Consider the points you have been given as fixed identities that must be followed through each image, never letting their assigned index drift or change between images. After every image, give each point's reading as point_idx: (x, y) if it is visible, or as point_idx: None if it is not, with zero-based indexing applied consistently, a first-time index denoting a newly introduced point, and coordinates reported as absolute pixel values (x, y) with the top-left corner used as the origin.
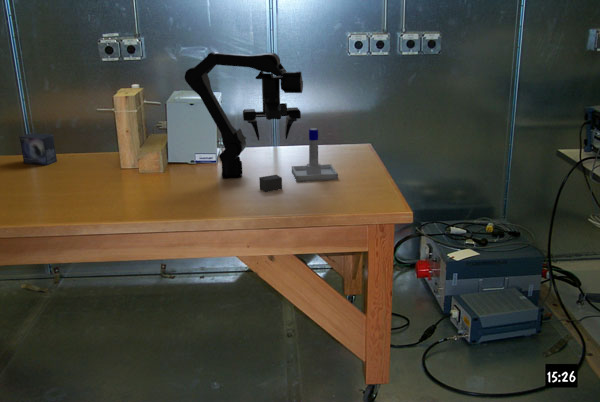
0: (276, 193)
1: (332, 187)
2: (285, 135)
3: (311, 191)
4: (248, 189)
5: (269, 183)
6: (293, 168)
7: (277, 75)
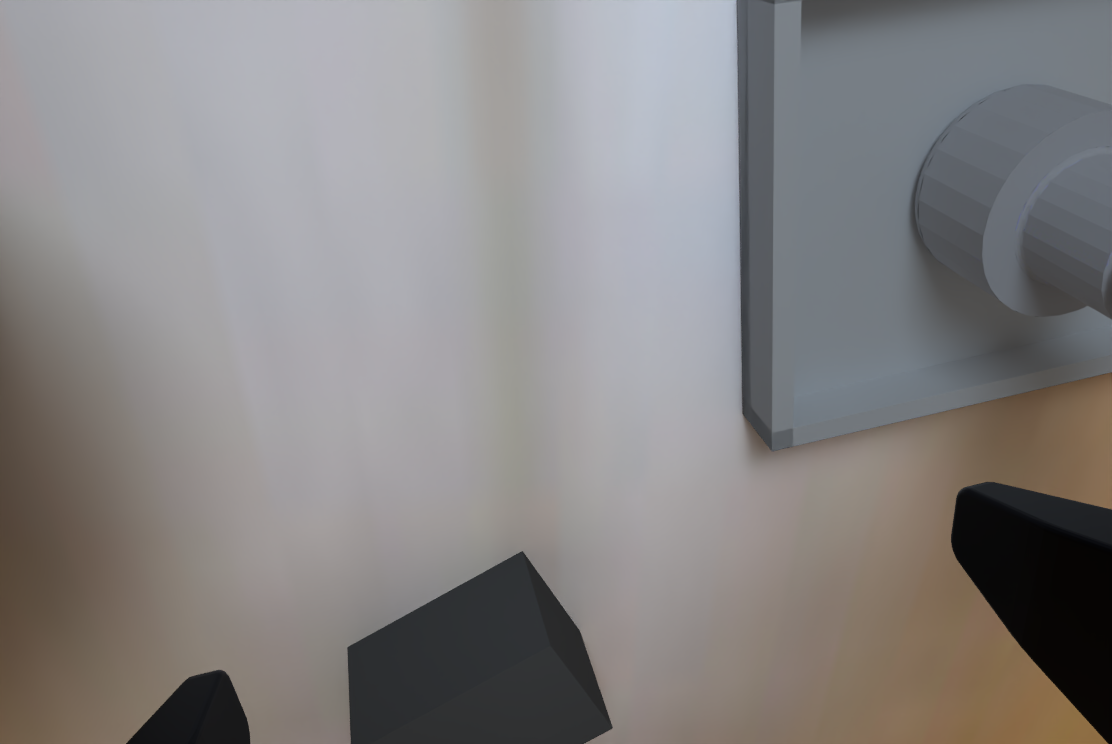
0: None
1: None
2: (1012, 616)
3: (834, 648)
4: None
5: None
6: (785, 117)
7: None
